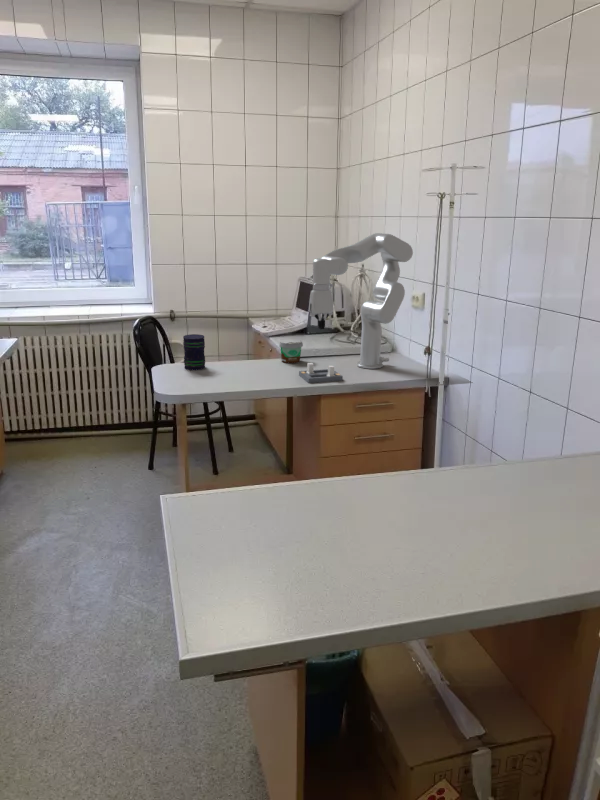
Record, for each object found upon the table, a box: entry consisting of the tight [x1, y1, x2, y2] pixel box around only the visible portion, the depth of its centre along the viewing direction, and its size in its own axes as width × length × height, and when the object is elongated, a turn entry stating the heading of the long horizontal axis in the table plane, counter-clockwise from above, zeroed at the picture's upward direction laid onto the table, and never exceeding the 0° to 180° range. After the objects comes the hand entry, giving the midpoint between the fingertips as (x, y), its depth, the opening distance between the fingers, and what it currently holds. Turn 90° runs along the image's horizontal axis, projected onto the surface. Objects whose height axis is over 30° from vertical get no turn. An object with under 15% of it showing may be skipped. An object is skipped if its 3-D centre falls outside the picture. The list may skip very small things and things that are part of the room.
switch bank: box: [298, 368, 343, 384], centre depth 278 cm, size 16×13×2 cm
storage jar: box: [182, 333, 206, 371], centre depth 289 cm, size 10×10×15 cm
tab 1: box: [306, 362, 315, 374], centre depth 279 cm, size 3×3×5 cm
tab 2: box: [326, 365, 335, 376], centre depth 275 cm, size 3×3×5 cm
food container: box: [278, 340, 304, 364], centre depth 303 cm, size 12×6×10 cm, turn 117°
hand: (321, 328), depth 276 cm, fingers closed
